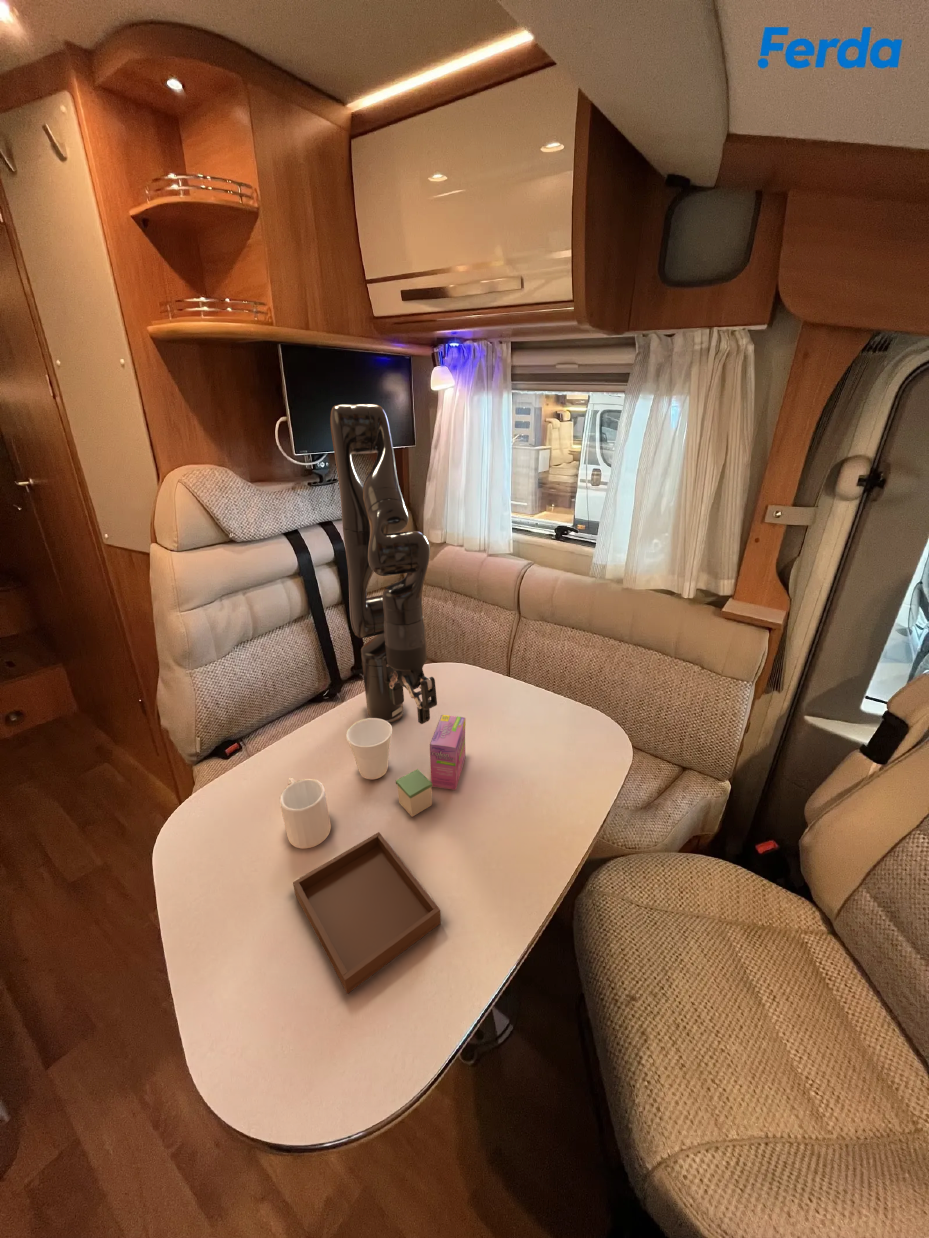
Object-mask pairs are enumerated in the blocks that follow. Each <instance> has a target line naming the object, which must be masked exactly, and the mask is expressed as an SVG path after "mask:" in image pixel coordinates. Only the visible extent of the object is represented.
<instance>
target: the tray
mask: <svg viewBox="0 0 929 1238" xmlns="http://www.w3.org/2000/svg"><path fill="white" fill-rule="evenodd" d="M292 886H293V890H294V895H295V897H296V899H297V900H298V903H299V904H300V906H301V908H302V910H303V912H304V914H305V916H306V918H307V920H308V922H309V924H310V926H311V927H312V929H313V931H314V933H315V935H316V937H317V939H318V941H319V943H320V944H321V945H320V946H321V947H322V949H323V950H324V953H325V955H326V956H327V959H328V960H329V962H330V963H331V965H332V968H333V970H334V972H335V973H336V975H337V977H338V979H339V981H340V983H341V985H342V987H343V989H344V991H345V993H346V994H348V995H349V994H350V993H351V992H352V991H353V990H355V989H356V988H357V987H359V986H360V985H361V984H363V983H364V982H366V980H368V979H369V978H371V977H372V976H373V975H375V974H376V973H377V972H378V971H380V970H381V969H382V968H384V967H386V966H387V965H388V964H389V963H390V962H392V961H393V960H394V959H396V958H397V957H398V956H400V955H401V954H402V953H404V952H405V951H407V950H408V949H409V948H410V947H412V946H413V945H414V944H415V943H417V942H418V941H419V940H421V939H422V938H423V937H425V936H426V935H427V934H429V933H430V932H431V931H433V930H434V929H435V928H437V927H438V926H439V925H441V924H442V919H441V909H440V908H439V906H438V905H437V904H436V902H434V900H433V899H432V897H431V896H430V895H429V894H428V893H427V891H426V890H425V889H424V887H423V886H422V885H421V883H420V882H419V881H418V880H417V878H416V877H415V876H414V874H413V873H412V872H411V871H410V869H409V868H408V867H407V865H405V863H404V862H403V860H402V859H401V857H399V855H398V854H397V853H396V852H395V850H394V849H393V848H392V846H391V845H390V844H389V843H388V841H387V840H386V839H385V837H384V836H383V835H382V834H381V832H380V831H377V832H376V833H374V834H372V835H371V836H368V837H367V838H366V839H364V840H362V841H361V842H359V843H357V844H356V845H354V846H352V847H351V848H349V849H347V850H345V851H344V852H342V853H340V854H338V855H337V856H335V857H333V858H331V859H330V860H328V861H326V862H325V863H323V864H321V865H320V866H317V867H316V868H313V870H311V871H309V872H308V873H306V874H304V875H302V876H301V877H299V878H297V879H296V880H293V881H292Z"/></svg>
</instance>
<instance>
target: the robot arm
mask: <svg viewBox="0 0 929 1238" xmlns="http://www.w3.org/2000/svg"><path fill="white" fill-rule="evenodd" d="M329 422H330V423H329V424H330V433H331V439H332V446H333V452H334V459H335V465H336V471H337V478H338V485H339V494H340V507H341V508H340V509H341V523H342V534H343V542H344V550H345V557H346V565H347V574H348V597H349V598H348V600H349V601H348V602H349V619H350V624H351V629H352V632H353V633H354V635H355V636H356V637H357V638H359V639H365V638H371V637H373V638H371V639H370V640H368V641H367V642H366V643H364V644H363V645H362V647H361V649H360V656H361V666H362V673H363V683H364V684H363V685H364V692H365V693H364V694H365V701H366V710H367V711H366V712H367V719H368V718H378V719H383V720H385V721H387V722H388V723H390V724H392V723H394V722H397V721H399V720H400V719H401V718H402V717H403V716H404V710H405V709H404V704H403V703H405V696H404V688H405V689H406V690H407V692H408V694H409V696H410V698H411V699H414V701H415V704H416V708H417V722H418V723H419V724H420V725H424V724H426V723H427V722H429V721H430V719H431V712H430V709H431V708H434V707H436V706H437V705H438V700H437V699H438V697H437V687H436V679H435V678H434V676H430V677H426V676H425V673H424V666H425V664H426V663H427V661H428V660H427V659H428V653H427V638H426V637H427V636H426V635H427V634H426V625H425V619H424V609H423V607H424V606H423V605H424V604H423V592H424V585H425V580H426V575H427V572H428V567H429V564H430V557H431V546H430V543H429V541H428V538H427V537H426V536H425V535H424V534H423V533H422V532H420V531H418V530H411V531H403V530H405V529H406V527H407V525H408V524H409V513H408V510H407V507H406V503H405V501H404V498H403V494H402V492H401V487H400V485H399V479H398V474H397V472H398V471H397V466H396V458H395V451H394V445H393V439H392V434H391V428H390V423H389V419H388V417H387V413H386V411H385V409H384V408H383V407H382V406H381V405H379V404H374V403H357V404H355V403H354V404H351V403H350V404H335V405H334V406H332V407H331V410H330V416H329ZM375 453H376V458H375V461H374V463H373V465H372V467H371V469H370V471H369V472H368V474H367V476H366V478H365V480H364V483H363V481H362V480H361V478H360V477H359V474H358V473H357V471H356V469H355V466H354V463H353V457H352V456H353V455H364V454H375ZM374 573H375V574H376V575H378V576H380V577H389V576H397V575H403V574H406V575H405V576H404V578H402V579H401V580H399V581H396V582H395V583H392V584H390V585H388V586H386V587H385V588H384V589H383V590H382V593H381V594H380V595H379V594H378V595H375V596H370V597H369V596H368V597H367V595H368V589H369V585H370V581H371V579H372V577H373V575H374ZM417 689H420V690H418V691H415V690H417ZM420 696H421V698H420Z"/></svg>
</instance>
